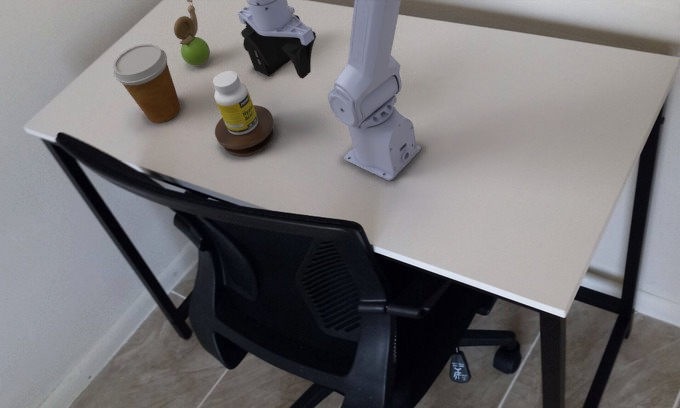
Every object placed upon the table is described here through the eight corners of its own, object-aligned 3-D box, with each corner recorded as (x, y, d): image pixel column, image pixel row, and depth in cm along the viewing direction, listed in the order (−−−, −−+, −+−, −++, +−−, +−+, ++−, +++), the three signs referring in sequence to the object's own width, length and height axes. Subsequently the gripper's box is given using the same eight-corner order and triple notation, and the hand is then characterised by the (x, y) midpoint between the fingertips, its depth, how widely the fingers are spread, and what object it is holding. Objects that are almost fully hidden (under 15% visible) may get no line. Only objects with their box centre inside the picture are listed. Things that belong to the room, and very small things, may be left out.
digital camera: (288, 38, 132) (279, 7, 127) (307, 46, 129) (299, 15, 124) (250, 68, 128) (238, 37, 123) (268, 77, 125) (258, 46, 120)
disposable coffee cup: (199, 105, 123) (174, 51, 115) (159, 136, 120) (130, 83, 111) (168, 88, 129) (143, 36, 120) (129, 118, 125) (100, 66, 116)
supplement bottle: (254, 135, 110) (235, 89, 103) (223, 136, 111) (203, 90, 104) (262, 113, 113) (245, 66, 106) (233, 114, 115) (214, 68, 108)
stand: (289, 129, 114) (284, 116, 112) (248, 167, 110) (242, 154, 108) (249, 111, 119) (244, 98, 117) (208, 146, 115) (202, 133, 113)
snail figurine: (222, 53, 133) (200, 0, 124) (201, 73, 130) (178, 20, 121) (201, 49, 135) (179, -4, 127) (181, 68, 132) (157, 16, 124)
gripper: (318, -10, 98) (337, 66, 108) (250, -29, 106) (273, 43, 116) (286, 17, 95) (308, 91, 105) (218, -5, 103) (245, 66, 113)
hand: (288, 68), depth 110 cm, fingers open, 7 cm apart
